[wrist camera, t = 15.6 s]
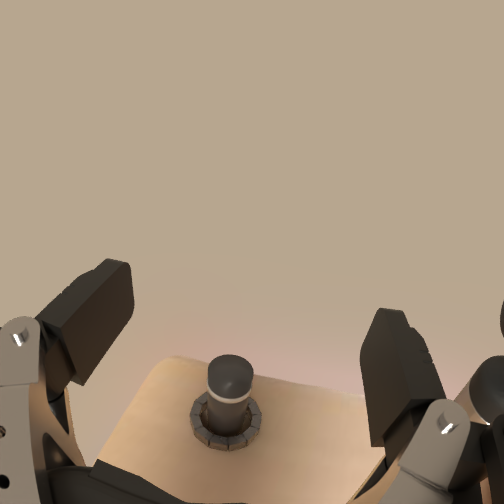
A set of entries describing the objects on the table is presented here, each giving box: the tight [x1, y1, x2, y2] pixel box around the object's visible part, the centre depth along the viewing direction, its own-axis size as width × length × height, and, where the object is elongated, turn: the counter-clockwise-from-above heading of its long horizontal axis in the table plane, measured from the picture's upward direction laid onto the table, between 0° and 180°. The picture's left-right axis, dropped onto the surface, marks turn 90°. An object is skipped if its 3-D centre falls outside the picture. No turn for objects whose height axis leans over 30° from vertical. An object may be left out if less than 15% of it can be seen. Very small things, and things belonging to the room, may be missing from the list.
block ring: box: [190, 392, 262, 451], centre depth 36 cm, size 9×9×2 cm
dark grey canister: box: [207, 355, 253, 438], centre depth 34 cm, size 5×5×12 cm
